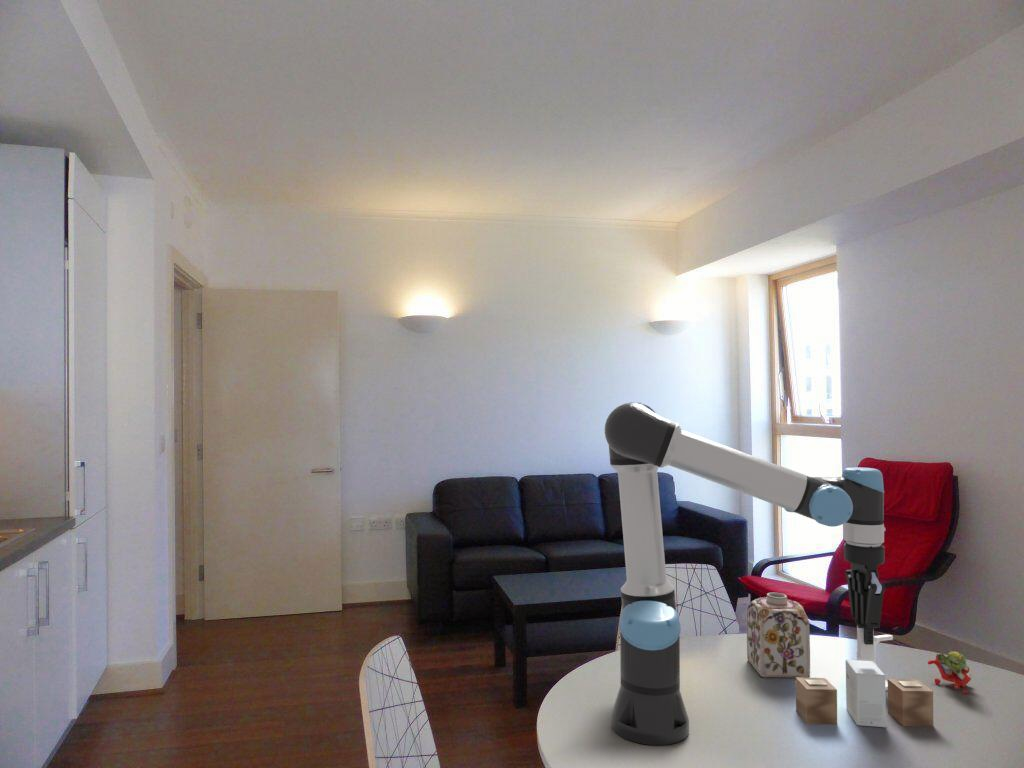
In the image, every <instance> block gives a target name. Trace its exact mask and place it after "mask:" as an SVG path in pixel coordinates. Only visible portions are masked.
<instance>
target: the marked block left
mask: <svg viewBox="0 0 1024 768" xmlns="http://www.w3.org/2000/svg"><path fill="white" fill-rule="evenodd" d="M795 711H796V713H797V714H798V716H799V717H801V719H802V720H803V721H804V722H805V723H806V724H807V725H838V689H837V688H836V687H835V686H834V685H833V684H832V683H831V682H830V681H828V679H827V678H825V677H810V678H801V677H796V678H795Z"/></svg>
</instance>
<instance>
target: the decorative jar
mask: <svg viewBox="0 0 1024 768" xmlns="http://www.w3.org/2000/svg"><path fill="white" fill-rule="evenodd" d="M746 659H747V661H748V662H749V663H750V665H751V666H752V667H753V669H754V670H756V672H757V673H758V674H759V676H760V677H761V678H779V679H781V678H786V679H787V678H788V679H791V678H792V679H796V677H801V678H811V633H810V621H809V618H808V615H807V614H806V612H805V609H804V606H803V605H801V604H800V603H799V602H798V601H795V600H792V599H789V598H788V596H787V595H786V594H785V593H780V592H768V593H767V594H766V597H765V596H764V597H758V598H755V599H754V600H752V601H751V602H750V603H749V604H748V605H747V607H746Z"/></svg>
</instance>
